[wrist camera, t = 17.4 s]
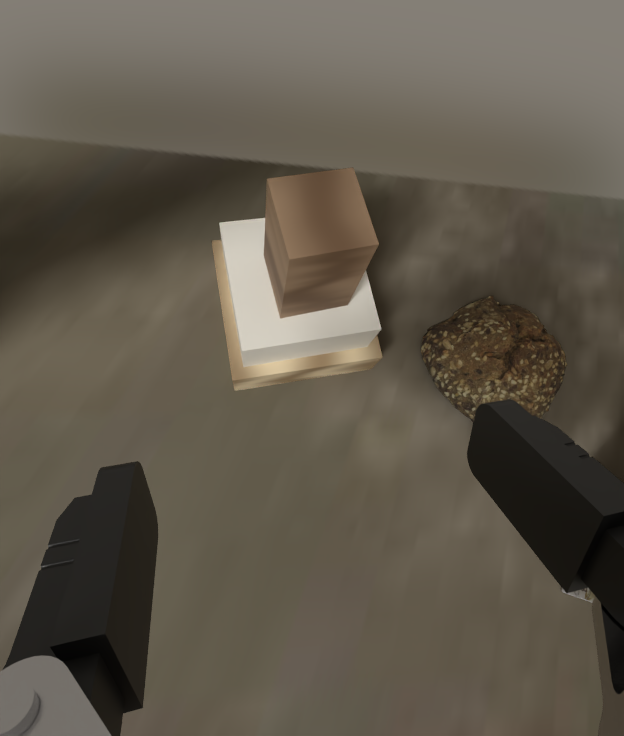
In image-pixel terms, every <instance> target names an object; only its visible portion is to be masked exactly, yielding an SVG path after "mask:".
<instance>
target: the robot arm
mask: <svg viewBox="0 0 624 736" xmlns="http://www.w3.org/2000/svg"><path fill="white" fill-rule="evenodd" d="M467 458H468V463H469V466H470V469H471V471H472V473H473V475H474V476H475V477H476V479H477V480H478V481H479V482H480V484H481V485H482V486H483V488H484V489H485V490H486V491H487V493H488V494H489V495H490V497H491V498H492V499H493V500H494V502H495V503H496V504H497V505H498V507H499V508H500V509H501V511H502V512H503V513H504V514H505V516H506V517H507V518H508V519H509V521H510V522H511V523H512V525H513V526H514V527H515V528H516V530H517V531H518V532H519V533H520V535H521V536H522V537H523V539H524V540H525V541H526V542H527V544H528V545H529V546H530V547H531V549H532V550H533V551H534V553H535V554H536V555H537V556H538V558H539V559H540V560H541V561H542V563H543V564H544V565H545V567H546V568H547V569H548V570H549V572H550V573H551V574H552V575H553V577H554V578H555V579H556V581H557V582H558V583H559V584H560V586H561V587H562V588H563V589H564V591H565V592H566V593H570V592H574V591H577V590H581V589H585V588H589V589H590V590H591V592H592V593H593V594H594V595H595V598H594V599H593V602H592V614H593V622H594V630H595V638H596V646H597V654H598V662H599V671H600V679H601V687H602V695H603V709H602V716H601V720H600V724H599V730H598V736H624V483H623V482H621V481H620V480H619V479H618V478H617V477H616V476H614V475H613V474H612V473H611V472H610V471H608V470H607V469H606V468H605V467H604V466H603V465H601V464H600V463H599V462H598V461H597V460H595V459H594V458H593V457H591V458H590V457H589V454H588V453H587V452H586V451H585V450H584V449H582V448H581V447H580V446H579V445H575V443H574V441H573V440H572V439H571V438H569V437H568V436H567V435H566V434H565V433H564V432H562V431H561V430H560V429H559V428H558V427H556V426H554V425H552V424H550V423H548V422H546V421H544V420H542V419H540V418H538V417H536V416H532V415H531V414H530V413H529V412H527V411H526V410H525V409H524V408H523V407H522V406H521V405H519V404H518V403H517V402H516V401H514V400H511V399H507V400H501V401H495V402H489V403H483V404H480V405H479V406H478V408H477V410H476V413H475V418H474V422H473V427H472V432H471V436H470V441H469V446H468V451H467ZM157 544H158V523H157V516H156V511H155V507H154V504H153V501H152V497H151V494H150V491H149V488H148V484H147V481H146V478H145V475H144V471H143V468H142V466H141V464H140V462H138V461H137V462H131V463H125V464H120V465H114V466H108V467H102V468H100V470H99V472H98V474H97V478H96V482H95V485H94V489H93V492H92V495H88V496H82V497H77V498H74V499H73V501H72V502H71V503H70V504H69V506H68V507H67V508H66V509H65V511H64V512H63V513H62V514H61V515H60V517H59V518H58V519H57V521H56V523H55V526H54V529H53V532H52V535H51V538H50V541H49V544H48V546H49V548H48V549H47V550H46V552H45V555H44V558H43V561H42V564H41V571H39V572H38V575H37V578H36V581H35V584H34V587H33V589H32V592H31V595H30V598H29V601H28V604H27V607H26V610H25V612H24V615H23V618H22V621H21V624H20V627H19V630H18V633H17V635H16V638H15V641H14V644H13V647H12V650H11V653H10V655H9V658H8V660H7V662H6V665H5V666H4V668H3V670H2V671H1V672H0V736H120V733H121V725H122V716H123V713H126V712H130V711H133V710H137V709H141V708H143V699H144V688H145V677H146V666H147V655H148V644H149V633H150V621H151V610H152V599H153V588H154V577H155V566H156V555H157Z"/></svg>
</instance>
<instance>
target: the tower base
mask: <svg viewBox="0 0 624 736" xmlns="http://www.w3.org/2000/svg"><path fill="white" fill-rule="evenodd" d="M212 247H213V254H214V260H215V267H216V274H217V280H218V287H219V293H220V300H221V307H222V313H223V320H224V327H225V333H226V340H227V346H228V353H229V360H230V366H231V373H232V380H233V385H234V389H235V391H236V390H243V389H249V388H255V387H261V386H268V385H274V384H280V383H287V382H293V381H299V380H306V379H312V378H318V377H324V376H331V375H337V374H343V373H350V372H356V371H362V370H368V369H372V368H373V367H374V366H375V365H376V364H377V363H378V362H379V361H380V360H381V359H382V353H381V349H380V345H379V341H378V336H377V335H376V337H375V338H374V339H373V340H372V342H371V343H370V344H369V345H368V347H363V348H357V349H351V350H345V351H339V352H333V353H327V354H321V355H315V356H309V357H302V358H296V359H290V360H284V361H278V362H272V363H266V364H260V365H254V366H248V367H243V362H242V356H241V351H240V345H239V339H238V334H237V328H236V322H235V317H234V311H233V305H232V300H231V294H230V288H229V282H228V277H227V271H226V265H225V260H224V254H223V247H222V240H215V241H212Z"/></svg>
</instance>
